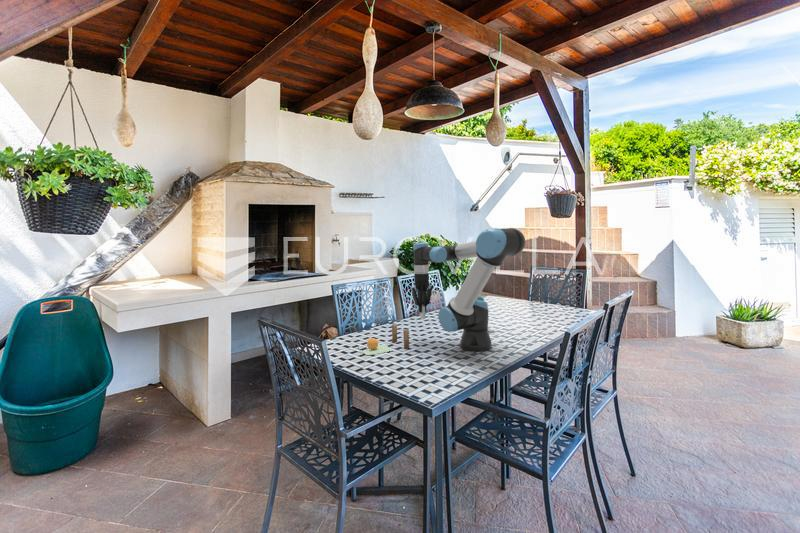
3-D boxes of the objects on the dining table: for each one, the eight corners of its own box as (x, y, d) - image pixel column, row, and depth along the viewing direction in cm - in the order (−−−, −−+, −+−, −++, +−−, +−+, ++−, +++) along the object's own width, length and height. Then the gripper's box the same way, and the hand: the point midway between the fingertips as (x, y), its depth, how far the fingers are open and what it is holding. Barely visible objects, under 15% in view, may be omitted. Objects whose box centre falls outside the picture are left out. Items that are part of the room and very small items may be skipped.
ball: (369, 351, 181) (380, 350, 184) (370, 340, 181) (380, 339, 184) (364, 348, 186) (374, 347, 189) (365, 337, 186) (375, 336, 188)
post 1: (398, 341, 197) (397, 324, 196) (393, 342, 196) (393, 325, 195) (395, 340, 199) (395, 323, 198) (391, 341, 198) (391, 324, 197)
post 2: (410, 348, 186) (409, 330, 185) (405, 349, 184) (405, 330, 184) (407, 346, 188) (407, 329, 187) (402, 347, 187) (402, 329, 186)
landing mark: (394, 350, 182) (394, 350, 182) (367, 355, 176) (367, 355, 176) (381, 343, 195) (381, 343, 195) (356, 347, 188) (356, 347, 188)
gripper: (428, 271, 201) (429, 315, 203) (406, 273, 195) (408, 318, 197) (436, 272, 194) (437, 318, 196) (414, 274, 188) (415, 321, 190)
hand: (422, 318), depth 196 cm, fingers closed
